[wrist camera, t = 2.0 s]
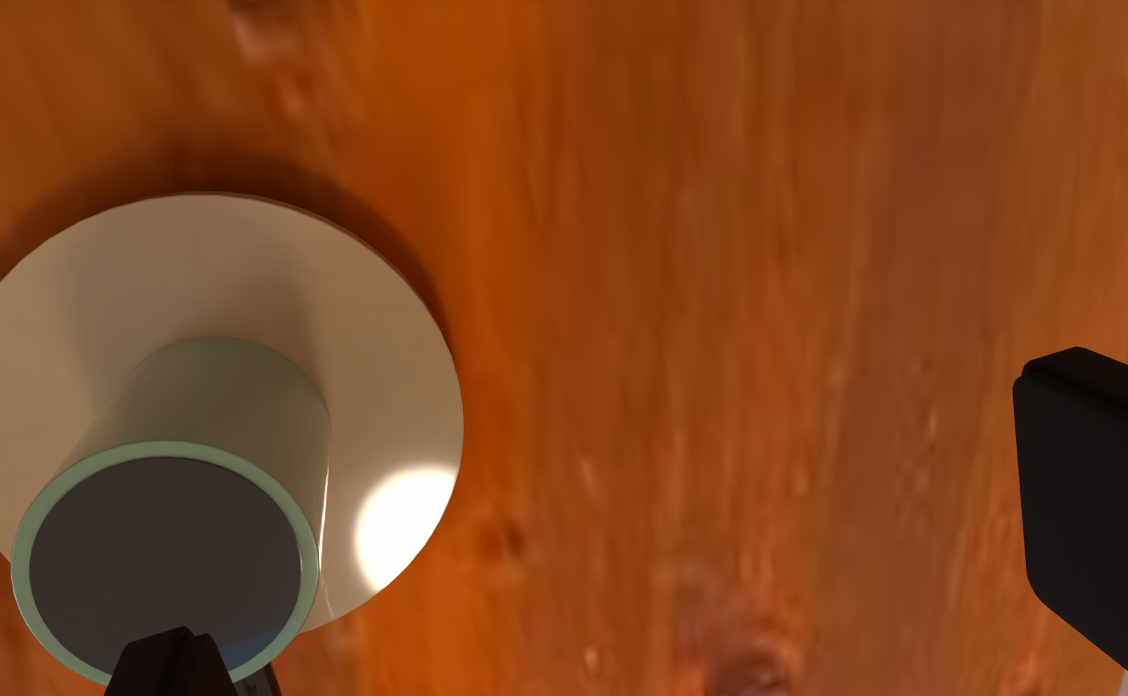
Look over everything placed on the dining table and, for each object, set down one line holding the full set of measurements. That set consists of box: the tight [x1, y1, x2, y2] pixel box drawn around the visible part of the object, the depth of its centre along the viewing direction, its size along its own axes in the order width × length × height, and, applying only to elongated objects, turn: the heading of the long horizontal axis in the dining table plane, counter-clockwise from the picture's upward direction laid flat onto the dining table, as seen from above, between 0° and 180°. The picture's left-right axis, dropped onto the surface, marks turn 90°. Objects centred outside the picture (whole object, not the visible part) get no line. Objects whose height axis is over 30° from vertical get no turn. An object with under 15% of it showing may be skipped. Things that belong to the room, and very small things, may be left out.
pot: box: [0, 191, 464, 696], centre depth 26 cm, size 19×15×9 cm
